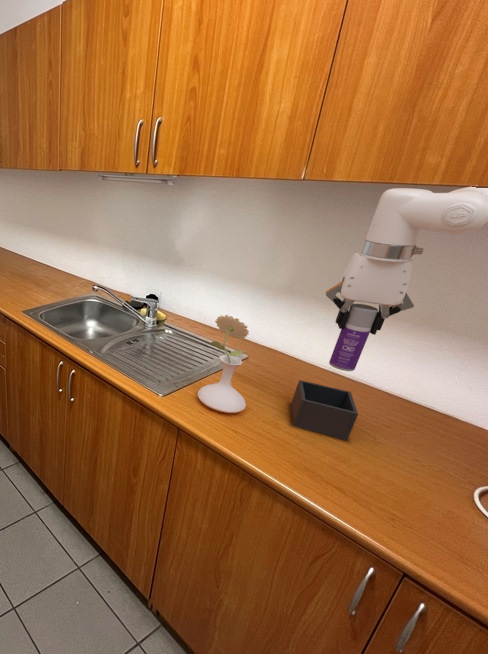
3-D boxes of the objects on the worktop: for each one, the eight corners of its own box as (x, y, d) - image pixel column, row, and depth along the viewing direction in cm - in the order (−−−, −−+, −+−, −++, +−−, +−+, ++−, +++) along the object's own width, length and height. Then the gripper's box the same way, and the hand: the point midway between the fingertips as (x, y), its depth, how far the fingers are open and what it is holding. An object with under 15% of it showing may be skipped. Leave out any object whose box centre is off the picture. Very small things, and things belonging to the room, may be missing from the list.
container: (333, 369, 91) (356, 310, 86) (325, 359, 95) (346, 302, 90) (358, 372, 90) (383, 312, 84) (349, 362, 94) (372, 304, 88)
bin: (340, 417, 101) (350, 391, 98) (347, 440, 93) (358, 414, 90) (290, 404, 107) (299, 379, 104) (293, 425, 99) (302, 399, 96)
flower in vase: (254, 413, 103) (280, 327, 94) (218, 420, 101) (241, 333, 91) (216, 386, 115) (236, 307, 105) (183, 392, 112) (200, 311, 103)
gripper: (437, 251, 81) (402, 331, 88) (331, 242, 89) (307, 316, 96) (451, 260, 75) (412, 345, 82) (336, 249, 83) (310, 327, 90)
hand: (355, 328), depth 89 cm, fingers closed on container, 4 cm apart
